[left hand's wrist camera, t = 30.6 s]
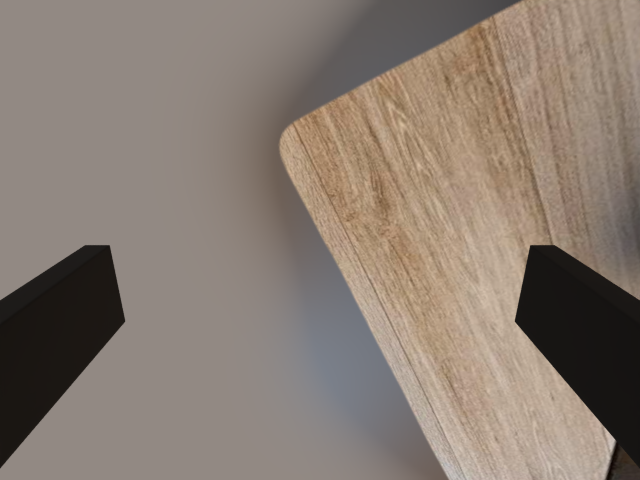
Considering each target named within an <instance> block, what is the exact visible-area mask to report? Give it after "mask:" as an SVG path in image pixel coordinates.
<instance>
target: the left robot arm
mask: <svg viewBox="0 0 640 480" xmlns="http://www.w3.org/2000/svg"><path fill="white" fill-rule="evenodd" d="M124 322H125V318H124V313H123V308H122V303H121V298H120V293H119V289H118V284H117V279H116V274H115V269H114V264H113V259H112V254H111V250H110V246H109V245H85V246H83V247H82V248H80V249H79V250H77V251H76V252H74V253H72V254H71V255H69V256H68V257H66V258H65V259H63V260H62V261H60V262H59V263H57V264H56V265H54V266H52V267H51V268H49V269H48V270H46V271H45V272H43V273H42V274H40V275H39V276H37V277H35V278H34V279H33V280H31V281H29V282H28V283H26V284H25V285H23V286H22V287H20V288H19V289H17V290H15V291H14V292H12V293H11V294H9V295H8V296H6V297H5V298H3V299H2V300H0V468H1V467H2V466H3V464H4V463H5V462H6V461H7V460H8V459H9V457H10V456H11V455H12V454H13V453H14V451H15V450H16V449H17V448H18V447H19V446H20V444H21V443H22V442H23V441H24V440H25V439H26V437H27V436H28V435H29V434H30V433H31V431H32V430H33V429H34V428H35V427H36V426H37V425H38V423H39V422H40V421H41V420H42V419H43V417H44V416H45V415H46V414H47V413H48V412H49V410H50V409H51V408H52V407H53V406H54V404H55V403H56V402H57V401H58V400H59V399H60V397H61V396H62V395H63V394H64V393H65V392H66V390H67V389H68V388H69V387H70V386H71V385H72V383H73V382H74V381H75V380H76V379H77V377H78V376H79V375H80V374H81V373H82V372H83V370H84V369H85V368H86V367H87V366H88V365H89V363H90V362H91V361H92V360H93V359H94V358H95V356H96V355H97V354H98V353H99V352H100V350H101V349H102V348H103V347H104V346H105V345H106V343H107V342H108V341H109V340H110V339H111V338H112V336H113V335H114V334H115V333H116V332H117V331H118V329H119V328H120V327H121V326H122V325H123V323H124ZM515 322H516V323H517V325H518V326H519V327H520V328H521V329H522V331H523V332H524V333H525V334H526V335H527V336H528V338H529V339H530V340H531V341H532V342H533V343H534V345H535V346H536V347H537V348H538V349H539V351H540V352H541V353H542V354H543V355H544V356H545V358H546V359H547V360H548V361H549V362H550V363H551V365H552V366H553V367H554V368H555V369H556V370H557V372H558V373H559V374H560V375H561V376H562V378H563V379H564V380H565V381H566V382H567V383H568V385H569V386H570V387H571V388H572V389H573V390H574V392H575V393H576V394H577V395H578V396H579V397H580V399H581V400H582V401H583V402H584V403H585V405H586V406H587V407H588V408H589V409H590V410H591V412H592V413H593V414H594V415H595V416H596V417H597V419H598V420H599V421H600V422H601V423H602V425H603V426H604V427H605V428H606V429H607V430H608V432H609V433H610V434H611V435H612V436H613V437H614V439H615V440H616V441H617V442H618V443H619V444H620V446H621V447H622V448H623V449H624V450H625V452H626V453H627V454H628V455H629V456H630V457H631V459H632V460H633V461H634V462H635V463H636V464H637V466H638V467H639V468H640V300H638V299H637V298H635V297H634V296H632V295H631V294H629V293H628V292H626V291H625V290H623V289H621V288H620V287H618V286H617V285H615V284H614V283H612V282H611V281H609V280H608V279H606V278H605V277H603V276H601V275H600V274H598V273H597V272H595V271H594V270H592V269H591V268H589V267H588V266H586V265H584V264H583V263H581V262H580V261H578V260H577V259H575V258H574V257H572V256H571V255H569V254H568V253H566V252H564V251H563V250H561V249H560V248H558V247H557V246H555V245H530V249H529V254H528V259H527V264H526V269H525V274H524V279H523V284H522V288H521V293H520V298H519V303H518V308H517V313H516V318H515Z"/></svg>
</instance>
